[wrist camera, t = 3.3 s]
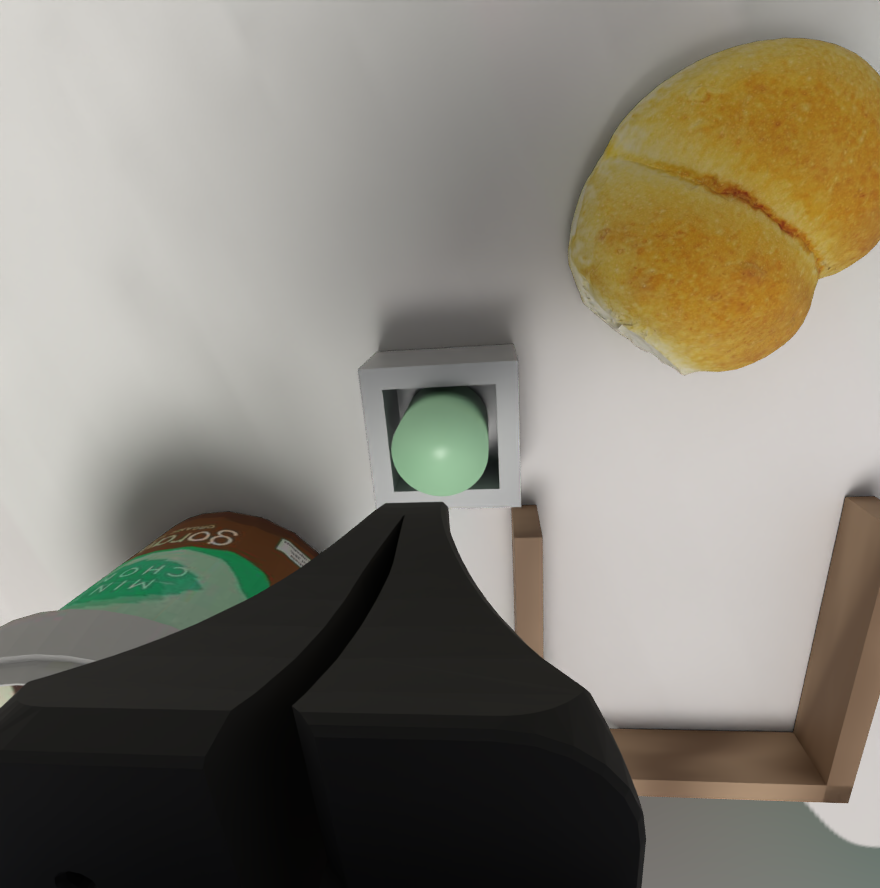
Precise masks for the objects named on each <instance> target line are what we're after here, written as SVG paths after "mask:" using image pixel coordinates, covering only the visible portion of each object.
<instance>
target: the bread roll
mask: <svg viewBox="0 0 880 888" xmlns="http://www.w3.org/2000/svg"><path fill="white" fill-rule="evenodd" d="M879 240H880V76H879V74H878V73H877V72H876V71H875V70H874V69H873V68H872V67H871V66H870V65H869V64H868V63H867V62H866V61H865V60H864V59H862V58H861V57H860V56H858V55H857V54H856V53H854V52H851V51H849V50H847V49H845V48H843V47H841V46H838V45H836V44H833V43H827V42H824V41H820V40H812V39H805V38H781V39H775V40H764V41H756V42H752V43H748V44H743V45H739V46H735V47H732V48H729V49H726V50H723V51H721V52H718V53H715V54H712V55H710V56H708V57H706V58H703V59H701V60H699V61H697V62H695V63H693V64H692V65H690V66H688V67H686V68H685V69H683V70H681V71H680V72H678V73H677V74H675V75H673V76H672V77H671V78H670V79H668V80H666V81H664V82H663V83H661V84H660V85H659V86H657V87H656V88H655V89H654V90H653V91H652V92H650V93H649V94H648V95H647V96H646V97H644V98H643V99H642V100H641V101H640V102H639V103H638V104H637V105H636V106H635V107H634V108H633V109H632V110H631V111H630V113H629V114H628V115H627V116H626V117H625V118H624V119H623V120H622V122H621V123H620V125H619V126H618V128H617V129H616V130H615V132H614V134H613V136H612V138H611V140H610V142H609V144H608V146H607V147H606V149H605V152H604V154H603V155H602V156H601V158H600V159H599V160H598V162H597V164H596V166H595V168H594V170H593V171H592V173H591V174H590V176H589V177H588V179H587V181H586V183H585V185H584V187H583V189H582V192H581V194H580V197H579V200H578V203H577V206H576V210H575V214H574V217H573V221H572V225H571V232H570V240H569V247H568V262H569V266H570V269H571V271H572V274H573V277H574V280H575V283H576V286H577V288H578V290H579V292H580V295H581V298H582V301H583V303H584V304H585V305H586V306H587V307H588V308H590V309H591V311H593V312H594V314H596V315H597V316H599V317H600V318H601V319H602V320H603V321H605V322H606V323H607V324H608V325H609V326H610V327H612V328H613V329H614V330H615V331H616V332H618V333H619V334H620V335H623V336H624V337H626V338H627V339H630V340H631V342H632V343H633V344H634V345H635V346H636V347H639V348H640V349H641V350H643V351H645V352H649V353H652V354H653V355H655V356H656V357H657V358H658V359H659V360H660V361H661V362H662V363H664V364H667V365H669V366H671V367H672V368H674V369H676V370H677V371H678V372H679V373H680V374H682V375H684V376H685V375H687V374H690V373H693V372H698V371H712V372H721V371H728V370H735V369H739V368H741V367H744V366H747V365H749V364H752V363H754V362H756V361H758V360H760V359H762V358H764V357H766V356H768V355H770V354H771V353H773V352H774V351H775V350H777V349H778V348H780V347H781V346H783V345H784V344H785V343H786V342H787V341H788V340H790V339H791V338H792V337H793V336H794V334H795V333H796V332H797V331H798V329H799V328H800V326H801V325H802V324H803V322H804V320H805V317H806V315H807V313H808V311H809V309H810V306H811V302H812V298H813V294H814V290H815V287H816V285H817V282H818V279H820V278H823V277H827V276H830V275H833V274H836V273H838V272H840V271H842V270H843V269H845V268H847V267H849V266H850V265H852V264H853V263H855V262H856V261H858V260H859V259H861V258H862V257H864V256H865V255H866V254H867V253H868V252H869V251H870V250H871V249H872V248H873V247H874V246H875V245H876V244H877V243H878V241H879Z"/></svg>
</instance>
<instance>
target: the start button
mask: <svg viewBox="0 0 880 888" xmlns="http://www.w3.org/2000/svg"><path fill="white" fill-rule="evenodd" d="M391 451H392V459H393V462H394V465H395V468H396V470H397V471H398V473H399V475H400V476H401V477H402V478H403V480H404V481H405V482H406V483H408V484H409V485H410V486H411V487H413V488H414V489H416V490H418V491H420V492H422V493H425V494H428V495H433V496H450V495H455V494H458V493H461V492H463V491H465V490H467V489H468V488H470V487H471V486H473V485H474V484H475V483H476V482H477V481H478V480H479V479H480V477H481V476H482V474H483V472H484V470H485V468H486V465H487V462H488V451H489V428H488V413H487V410H486V407H485V405H484V403H483V401H482V400H481V398H480V397H479V396H478V395H477V394H476V393H475V392H474V391H473V390H471V389H470V388H468V387H466V386H448V387H428V388H423V389H422V390H420V391H419V392H418V393H417V394H416V395H415V396H414V398H413V399H412V400H411V402H410V404H409V406H408V408H407V410H406V412H405V414H404V416H403V418H402V420H401V421H400V423H399V425H398V427H397V429H396V431H395V434H394V436H393V440H392V447H391Z"/></svg>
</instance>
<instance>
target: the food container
mask: <svg viewBox="0 0 880 888" xmlns="http://www.w3.org/2000/svg"><path fill="white" fill-rule="evenodd" d="M318 555H319V554H318V553H317V552H316V551H315V550H314V549H313V548H311V547H310V546H309V545H308V544H307V543H306V542H304V541H303V540H302V539H301V538H300V537H299V536H297V535H296V534H295V533H293V532H291V531H289V530H287V529H285V528H283V527H281V526H279V525H277V524H275V523H273V522H271V521H268V520H266V519H264V518H262V517H257V516H251V515H246V514H240V513H235V512H230V511H227V512H216V513H205V514H201V515H198V516H194V517H191V518H189V519H187V520H185V521H183V522H181V523H179V524H177V525H176V526H174V527H173V528H171V529H170V530H169V531H167V532H166V533H165V534H163V535H162V536H160V537H159V538H158V539H156V540H155V541H154V542H152V543H151V544H149V545H148V546H147V547H145V548H144V549H142V550H141V551H140V552H138V553H137V554H136V555H134V556H133V557H131V558H130V559H129V560H127V561H126V562H125V563H123V564H122V565H120V566H119V567H118V568H116V569H115V570H114V571H112V572H111V573H109V574H108V575H107V576H105V577H104V578H102V579H101V580H100V581H98V582H97V583H96V584H94V585H93V586H91V587H90V588H89V589H87V590H86V591H85V592H83V593H82V594H80V595H79V596H78V597H76V598H75V599H73V600H72V601H71V602H69V603H68V604H67V605H65V606H64V607H62V608H61V609H60V610H58V611H49V612H40V613H37V614H33V615H30V616H26V617H23V618H19V619H16V620H13V621H11V622H9V623H7V624H5V625H3V626H1V627H0V708H1V707H2V706H3V705H4V704H5V703H6V702H7V701H8V700H9V699H10V698H11V697H12V696H13V695H14V694H15V693H16V692H17V691H18V690H20V689H21V688H22V687H23V686H24V685H25V684H26V683H27V682H29V681H32V680H35V679H39V678H43V677H46V676H50V675H53V674H56V673H59V672H62V671H66V670H69V669H72V668H75V667H79V666H82V665H85V664H88V663H91V662H95V661H98V660H101V659H104V658H107V657H111V656H114V655H117V654H119V653H122V652H125V651H128V650H131V649H134V648H136V647H139V646H142V645H144V644H147V643H150V642H152V641H155V640H158V639H160V638H163V637H166V636H168V635H170V634H173V633H175V632H178V631H180V630H183V629H185V628H188V627H190V626H192V625H195V624H197V623H199V622H201V621H203V620H205V619H208V618H210V617H212V616H214V615H216V614H218V613H220V612H222V611H224V610H226V609H228V608H230V607H233V606H235V605H237V604H239V603H241V602H243V601H245V600H247V599H249V598H251V597H253V596H254V595H256V594H258V593H260V592H261V591H263V590H265V589H267V588H268V587H270V586H272V585H274V584H275V583H277V582H279V581H280V580H282V579H284V578H285V577H287V576H289V575H290V574H292V573H293V572H295V571H296V570H298V569H299V568H301V567H302V566H304V565H305V564H306V563H308V562H309V561H311V560H312V559H313V558H315V557H316V556H318Z"/></svg>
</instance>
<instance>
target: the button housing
mask: <svg viewBox="0 0 880 888" xmlns="http://www.w3.org/2000/svg"><path fill="white" fill-rule="evenodd" d="M358 375H359V382H360V390H361V397H362V405H363V412H364V420H365V428H366V435H367V443H368V450H369V458H370V465H371V473H372V480H373V488H374V496H375V503H376V509H378V508H379V507H380V506H382V505H383V504H385V503H409V502H444V503H445V504H446V505H447V506H448V509H460V508H499V507H521V473H520V427H519V382H518V358H517V355H516V351H515V347H514V344H501V345H484V346H467V347H450V348H434V349H417V350H400V351H383V352H376V353H375V354H374V355H373V356H372V357H371V358H370V359H369V360H368V361H367V362H365V363H364V364H363V365H362V366H361V367H360V368H359V369H358ZM448 386H466V387H468V388H470V389H471V390H473V391H474V392H475V393H476V394H477V395H478V396H479V397H480V398H481V400H482V401H483V403H484V405H485V407H486V410H487V413H488V428H489V451H488V462H487V465H486V468H485V470H484V472H483V474H482V476H481V477H480V479H479V480H478V481H477V482H476V483H475V484H474V485H473V486H471V487H470V488H468V489H467V490H465V491H463V492H461V493H458V494H455V495H450V496H433V495H428V494H425V493H422V492H420V491H418V490H416V489H414V488H413V487H411V486H410V485H409V484H408V483H406V482H405V481H404V480H403V478H402V477H401V476H400V475H399V473H398V471H397V470H396V468H395V465H394V462H393V459H392V451H391V447H392V440H393V436H394V434H395V431H396V429H397V427H398V425H399V423H400V421H401V420H402V418H403V416H404V414H405V412H406V410H407V408H408V406H409V404H410V402H411V400H412V399H413V398H414V396H415V395H416V394H417V393H418V392H419V391H420V390H422V389H423V388H428V387H448Z"/></svg>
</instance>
